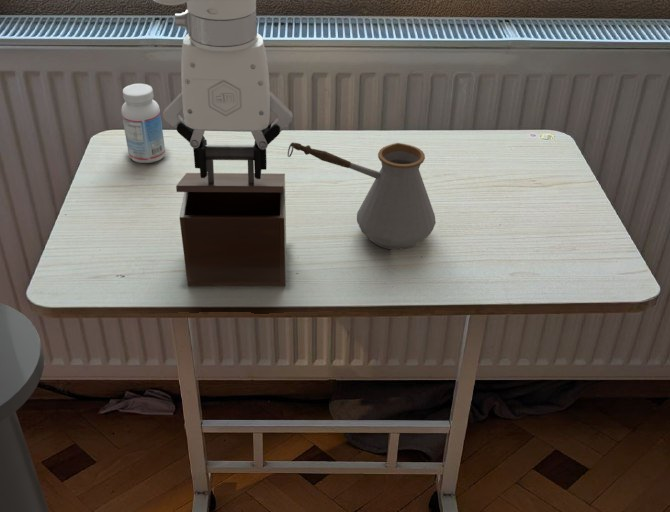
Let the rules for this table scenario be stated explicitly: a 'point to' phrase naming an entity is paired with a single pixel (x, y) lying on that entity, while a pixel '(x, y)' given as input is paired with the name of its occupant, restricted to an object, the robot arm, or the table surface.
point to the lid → (231, 174)
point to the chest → (234, 238)
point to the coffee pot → (390, 196)
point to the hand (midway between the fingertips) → (231, 172)
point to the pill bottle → (142, 124)
